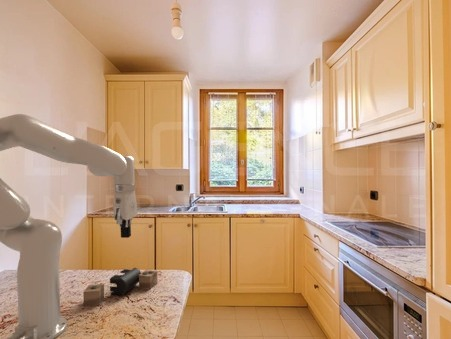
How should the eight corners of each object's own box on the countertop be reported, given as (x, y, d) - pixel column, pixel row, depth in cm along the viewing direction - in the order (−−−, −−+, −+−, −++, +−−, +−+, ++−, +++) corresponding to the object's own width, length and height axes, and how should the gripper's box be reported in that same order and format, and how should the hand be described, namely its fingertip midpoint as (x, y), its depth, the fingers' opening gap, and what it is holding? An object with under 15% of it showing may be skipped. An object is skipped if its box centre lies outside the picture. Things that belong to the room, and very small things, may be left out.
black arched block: (126, 297, 90) (125, 278, 90) (109, 295, 92) (108, 277, 92) (142, 285, 100) (141, 268, 100) (126, 283, 102) (126, 266, 102)
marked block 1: (99, 305, 86) (99, 289, 86) (83, 306, 85) (83, 291, 85) (104, 297, 91) (103, 283, 91) (89, 299, 90) (88, 284, 90)
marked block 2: (150, 289, 96) (150, 275, 96) (139, 288, 98) (138, 274, 98) (157, 283, 101) (157, 270, 101) (146, 282, 102) (146, 269, 102)
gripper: (124, 190, 88) (125, 243, 88) (142, 186, 103) (143, 231, 103) (103, 190, 89) (105, 243, 89) (124, 187, 104) (126, 231, 104)
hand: (125, 236), depth 96 cm, fingers closed
